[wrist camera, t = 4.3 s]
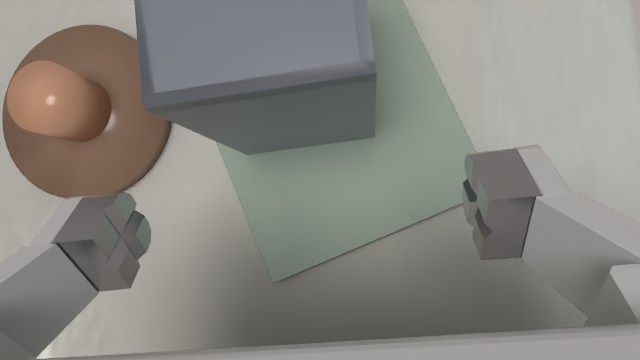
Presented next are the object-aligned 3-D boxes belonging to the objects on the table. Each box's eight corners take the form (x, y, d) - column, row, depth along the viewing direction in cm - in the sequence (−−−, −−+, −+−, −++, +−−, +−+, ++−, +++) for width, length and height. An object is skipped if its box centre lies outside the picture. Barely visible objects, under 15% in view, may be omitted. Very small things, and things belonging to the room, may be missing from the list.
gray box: (374, 137, 21) (376, 72, 11) (246, 154, 22) (142, 108, 12) (358, 10, 22) (346, -157, 12) (234, 32, 23) (126, -108, 13)
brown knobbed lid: (197, 156, 23) (163, 145, 19) (45, 226, 24) (-16, 229, 20) (137, 2, 24) (94, -36, 21) (-7, 74, 25) (-74, 50, 21)
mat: (489, 190, 21) (494, 189, 20) (276, 280, 22) (272, 283, 21) (369, -59, 23) (369, -69, 22) (177, 35, 24) (170, 29, 23)
